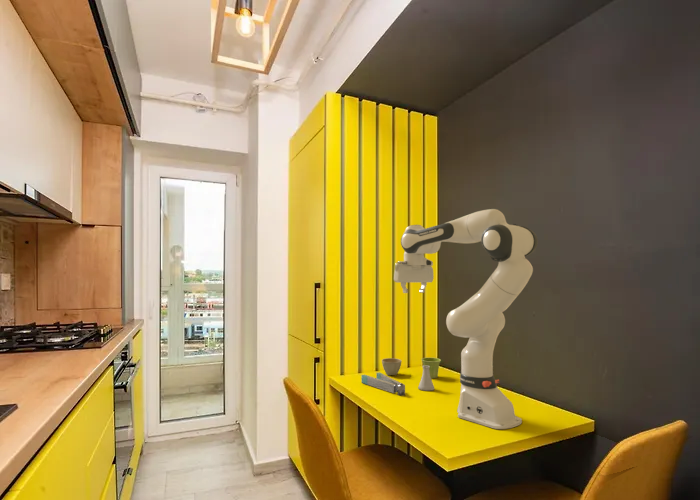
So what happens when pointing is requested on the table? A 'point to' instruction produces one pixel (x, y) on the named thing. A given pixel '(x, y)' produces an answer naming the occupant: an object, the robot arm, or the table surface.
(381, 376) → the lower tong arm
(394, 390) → the upper tong arm
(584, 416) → the table surface
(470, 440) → the table surface
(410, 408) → the table surface
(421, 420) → the table surface
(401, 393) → the tong pivot
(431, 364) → the plant pot
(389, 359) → the flower pot
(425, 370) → the flask
